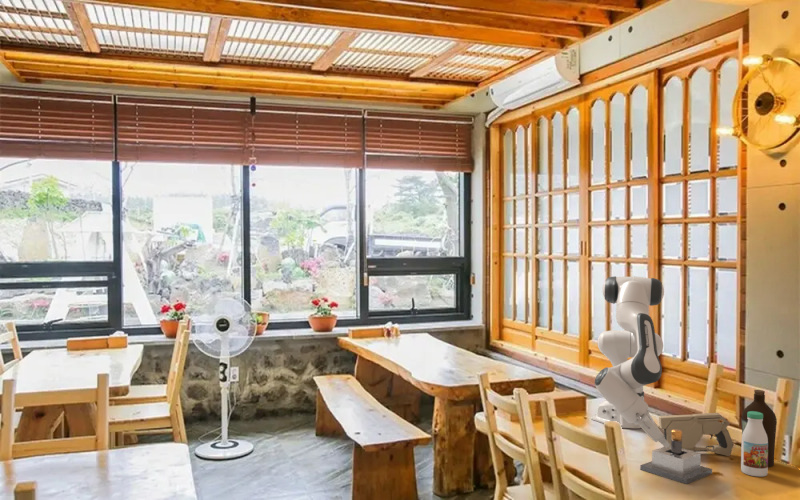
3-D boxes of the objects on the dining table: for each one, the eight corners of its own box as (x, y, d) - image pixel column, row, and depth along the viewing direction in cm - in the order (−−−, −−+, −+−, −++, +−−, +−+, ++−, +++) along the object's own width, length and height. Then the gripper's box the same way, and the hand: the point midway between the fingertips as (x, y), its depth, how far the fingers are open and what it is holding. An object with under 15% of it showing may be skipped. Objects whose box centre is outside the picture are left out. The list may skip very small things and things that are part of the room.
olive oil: (764, 457, 228) (766, 387, 228) (782, 468, 218) (783, 394, 218) (734, 457, 228) (736, 387, 228) (750, 467, 218) (752, 393, 218)
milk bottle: (735, 470, 215) (736, 410, 215) (752, 468, 218) (753, 408, 217) (755, 478, 208) (756, 416, 208) (773, 475, 210) (774, 414, 210)
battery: (668, 466, 213) (669, 430, 213) (673, 464, 215) (674, 428, 215) (678, 469, 211) (678, 432, 211) (683, 467, 213) (683, 431, 213)
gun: (731, 453, 233) (727, 411, 233) (734, 456, 230) (731, 414, 230) (661, 456, 235) (658, 415, 235) (664, 459, 232) (661, 417, 232)
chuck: (640, 469, 214) (640, 450, 214) (666, 460, 224) (666, 441, 224) (686, 484, 202) (687, 463, 202) (712, 473, 212) (712, 453, 212)
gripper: (647, 411, 205) (679, 444, 203) (637, 397, 225) (666, 427, 223) (632, 424, 206) (664, 457, 204) (623, 409, 226) (652, 439, 224)
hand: (665, 441), depth 214 cm, fingers open, 8 cm apart
